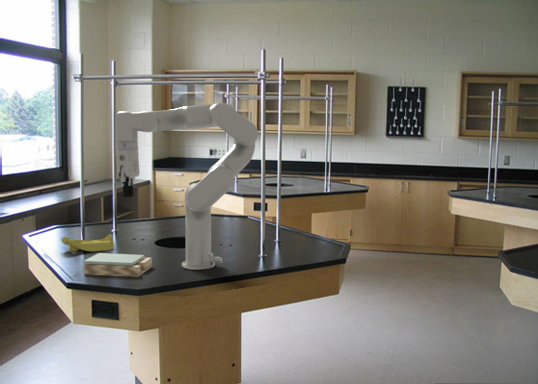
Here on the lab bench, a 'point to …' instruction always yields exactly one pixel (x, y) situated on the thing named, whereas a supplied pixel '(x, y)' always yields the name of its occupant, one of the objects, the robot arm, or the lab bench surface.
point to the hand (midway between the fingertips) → (128, 196)
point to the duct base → (119, 269)
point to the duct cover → (114, 259)
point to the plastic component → (89, 244)
